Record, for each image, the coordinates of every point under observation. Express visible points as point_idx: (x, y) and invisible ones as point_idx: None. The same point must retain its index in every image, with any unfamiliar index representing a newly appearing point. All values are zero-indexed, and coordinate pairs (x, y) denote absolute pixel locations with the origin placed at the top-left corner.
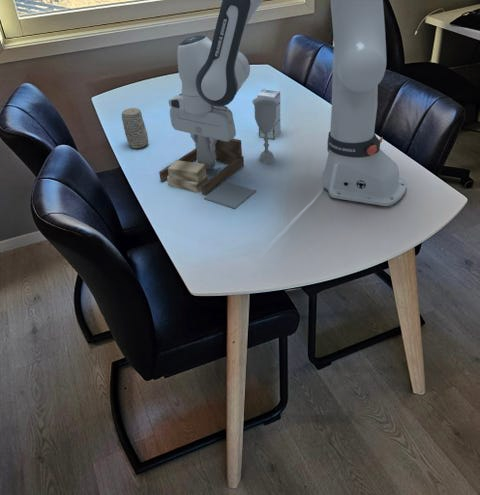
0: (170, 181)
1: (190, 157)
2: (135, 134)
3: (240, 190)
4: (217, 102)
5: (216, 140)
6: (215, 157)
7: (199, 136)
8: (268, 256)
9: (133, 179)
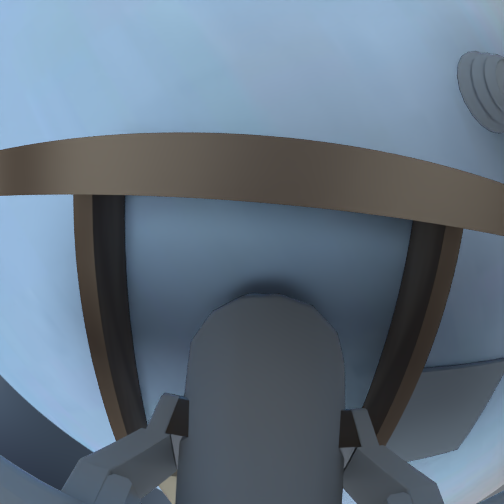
0: None
1: (109, 293)
2: None
3: (468, 389)
4: None
5: (416, 481)
6: (342, 362)
7: None
8: (501, 472)
9: (65, 430)
